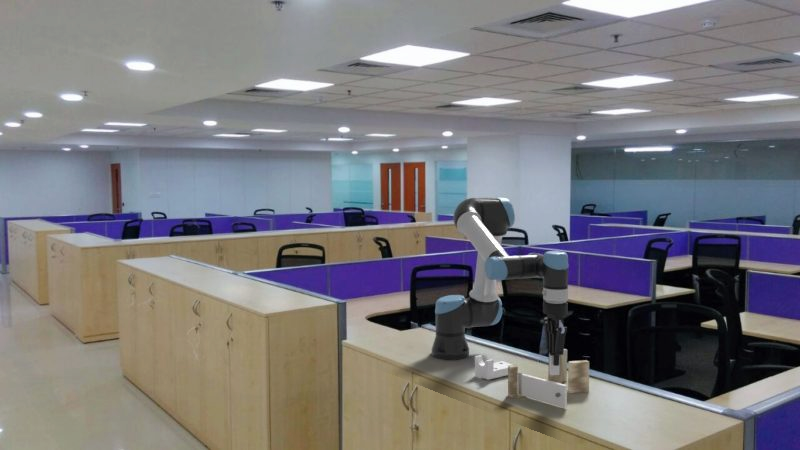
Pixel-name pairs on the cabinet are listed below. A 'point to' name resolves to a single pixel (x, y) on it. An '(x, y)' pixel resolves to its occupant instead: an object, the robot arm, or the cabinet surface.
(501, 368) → the bracket
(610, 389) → the cabinet surface
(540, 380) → the door
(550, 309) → the robot arm
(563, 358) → the box
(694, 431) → the cabinet surface
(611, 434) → the cabinet surface
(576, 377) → the door frame
